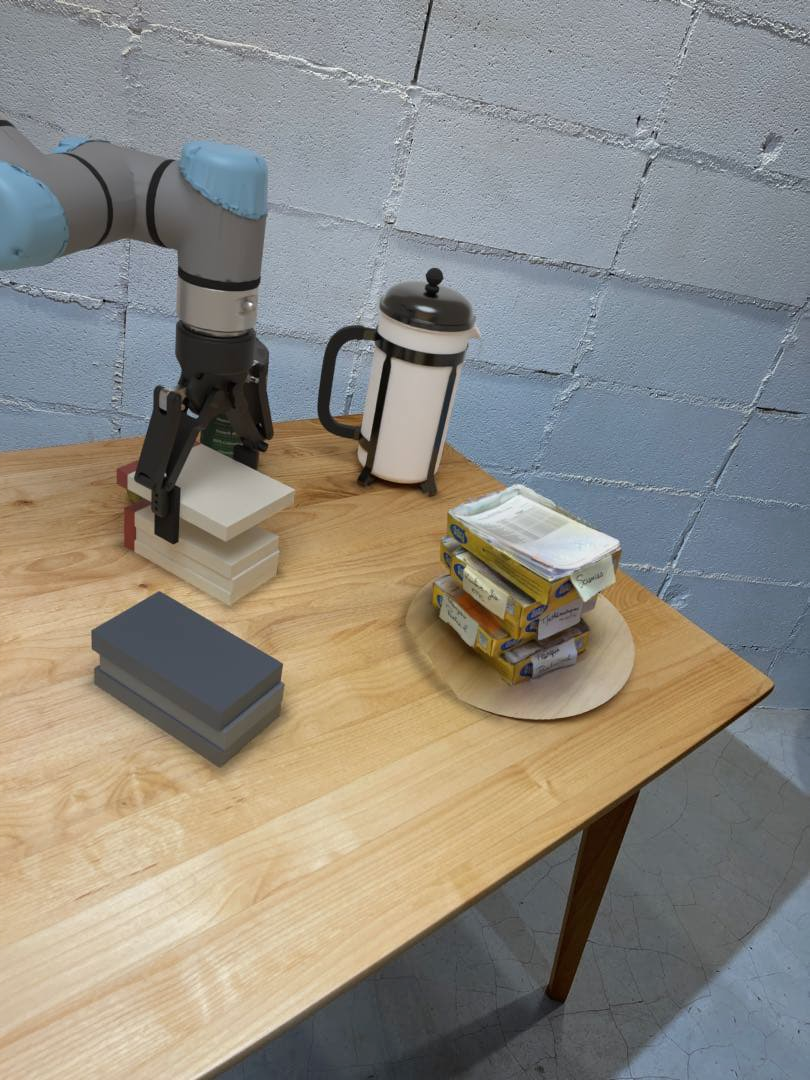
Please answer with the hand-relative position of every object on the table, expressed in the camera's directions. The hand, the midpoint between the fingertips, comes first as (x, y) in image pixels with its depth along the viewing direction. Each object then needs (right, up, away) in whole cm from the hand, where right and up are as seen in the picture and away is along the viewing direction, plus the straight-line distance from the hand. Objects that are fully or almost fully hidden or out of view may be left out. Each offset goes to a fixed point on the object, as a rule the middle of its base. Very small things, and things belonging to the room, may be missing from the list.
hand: (205, 517), depth 89 cm
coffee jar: (-2, +7, +21) cm, 23 cm away
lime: (-10, +2, +11) cm, 15 cm away
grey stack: (+2, -17, -15) cm, 23 cm away
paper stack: (+34, -14, +1) cm, 37 cm away
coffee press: (+19, +7, +29) cm, 36 cm away
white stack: (-1, -5, +3) cm, 6 cm away
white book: (+1, +3, -2) cm, 3 cm away
